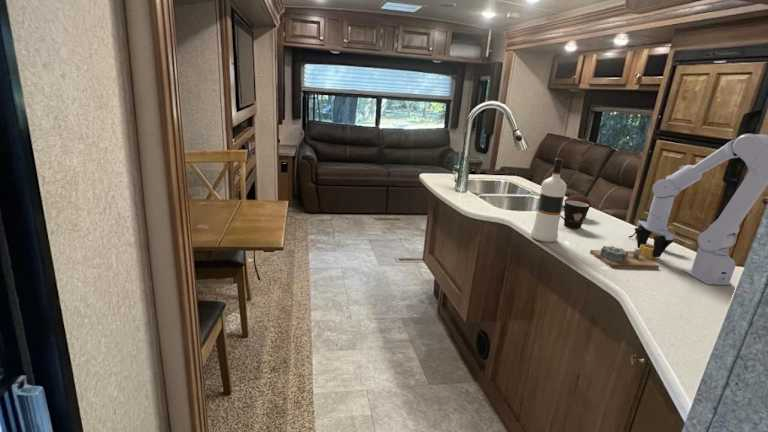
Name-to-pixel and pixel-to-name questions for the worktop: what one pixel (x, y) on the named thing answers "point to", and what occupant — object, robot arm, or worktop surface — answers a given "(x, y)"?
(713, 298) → the worktop surface
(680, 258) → the worktop surface
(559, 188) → the vodka
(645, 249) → the ochre gear
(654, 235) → the lion figurine
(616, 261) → the gear board
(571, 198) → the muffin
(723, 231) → the robot arm
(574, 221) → the coffee mug
